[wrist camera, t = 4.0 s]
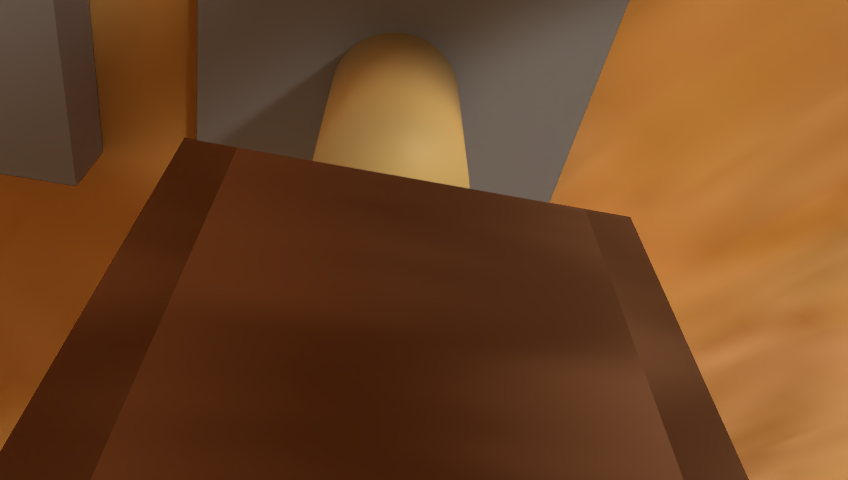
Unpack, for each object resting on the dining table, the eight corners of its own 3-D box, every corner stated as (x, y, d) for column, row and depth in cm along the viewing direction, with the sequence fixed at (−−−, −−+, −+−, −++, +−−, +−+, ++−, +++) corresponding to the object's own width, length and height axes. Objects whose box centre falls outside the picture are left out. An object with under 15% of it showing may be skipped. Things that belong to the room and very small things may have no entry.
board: (648, -71, 17) (733, -4, 12) (520, 259, 23) (544, 382, 19) (205, -178, 15) (117, -146, 11) (201, 207, 22) (145, 327, 17)
